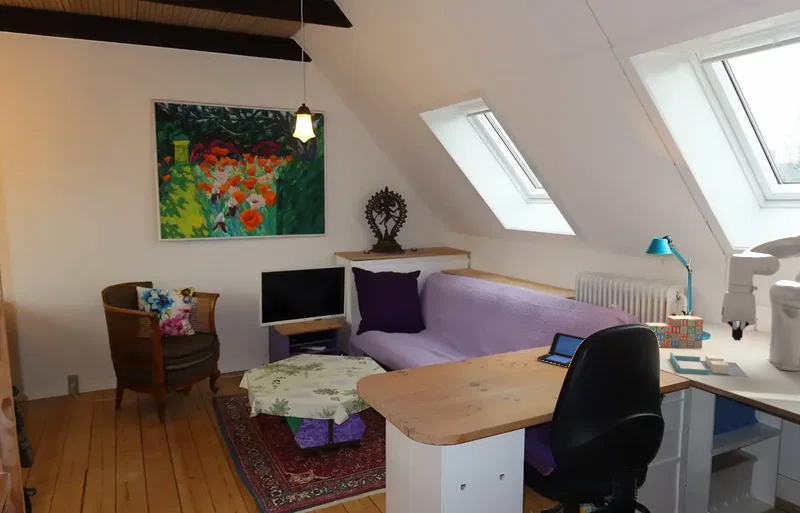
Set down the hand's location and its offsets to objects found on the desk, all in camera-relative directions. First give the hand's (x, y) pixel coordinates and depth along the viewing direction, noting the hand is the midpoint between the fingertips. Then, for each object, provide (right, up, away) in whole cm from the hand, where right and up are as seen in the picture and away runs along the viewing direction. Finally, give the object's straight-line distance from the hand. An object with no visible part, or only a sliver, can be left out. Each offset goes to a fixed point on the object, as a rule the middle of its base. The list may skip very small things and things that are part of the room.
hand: (736, 339), depth 209 cm
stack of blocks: (-6, -8, +36) cm, 37 cm away
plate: (-6, -12, -1) cm, 13 cm away
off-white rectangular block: (-9, -11, -4) cm, 14 cm away
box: (-16, -11, +2) cm, 20 cm away
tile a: (-6, -10, +3) cm, 12 cm away
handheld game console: (-57, -11, +17) cm, 61 cm away
